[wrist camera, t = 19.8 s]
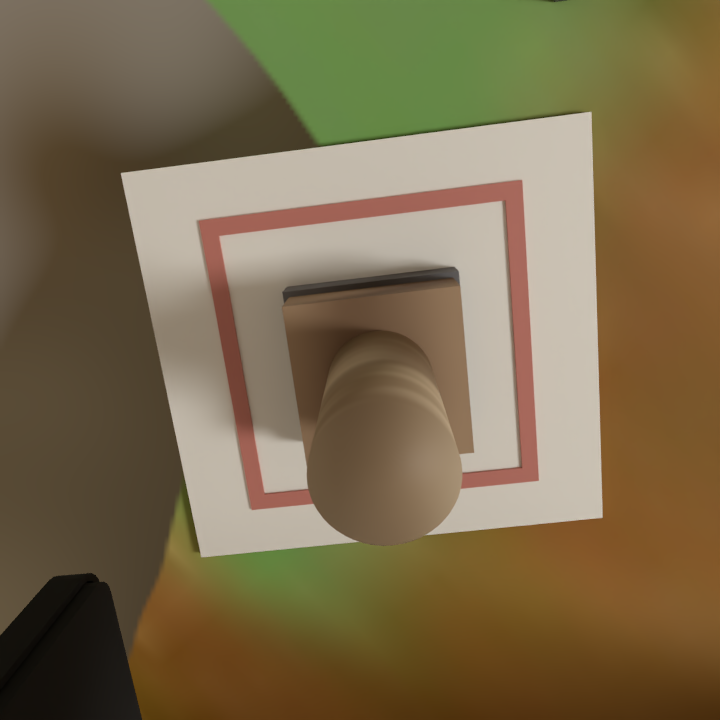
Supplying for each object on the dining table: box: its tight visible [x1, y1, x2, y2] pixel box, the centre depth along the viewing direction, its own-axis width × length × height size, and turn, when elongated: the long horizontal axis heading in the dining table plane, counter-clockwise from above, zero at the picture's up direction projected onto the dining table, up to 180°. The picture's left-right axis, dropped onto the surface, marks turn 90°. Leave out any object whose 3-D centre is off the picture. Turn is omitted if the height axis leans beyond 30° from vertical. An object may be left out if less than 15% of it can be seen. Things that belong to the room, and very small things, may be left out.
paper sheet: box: [121, 112, 603, 557], centre depth 24 cm, size 16×15×1 cm
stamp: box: [282, 267, 474, 546], centre depth 19 cm, size 6×6×10 cm
